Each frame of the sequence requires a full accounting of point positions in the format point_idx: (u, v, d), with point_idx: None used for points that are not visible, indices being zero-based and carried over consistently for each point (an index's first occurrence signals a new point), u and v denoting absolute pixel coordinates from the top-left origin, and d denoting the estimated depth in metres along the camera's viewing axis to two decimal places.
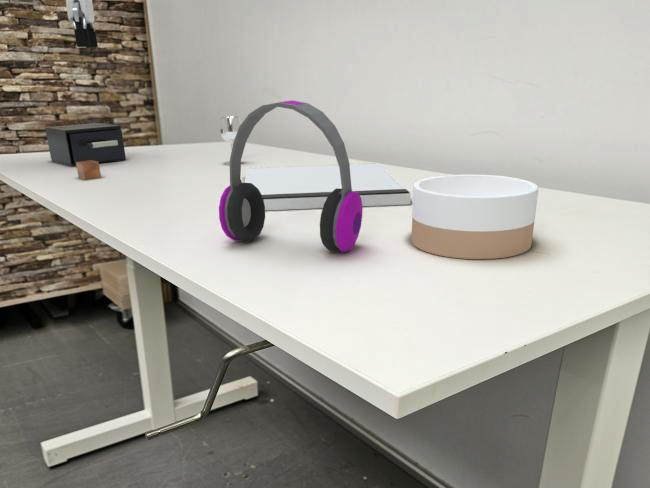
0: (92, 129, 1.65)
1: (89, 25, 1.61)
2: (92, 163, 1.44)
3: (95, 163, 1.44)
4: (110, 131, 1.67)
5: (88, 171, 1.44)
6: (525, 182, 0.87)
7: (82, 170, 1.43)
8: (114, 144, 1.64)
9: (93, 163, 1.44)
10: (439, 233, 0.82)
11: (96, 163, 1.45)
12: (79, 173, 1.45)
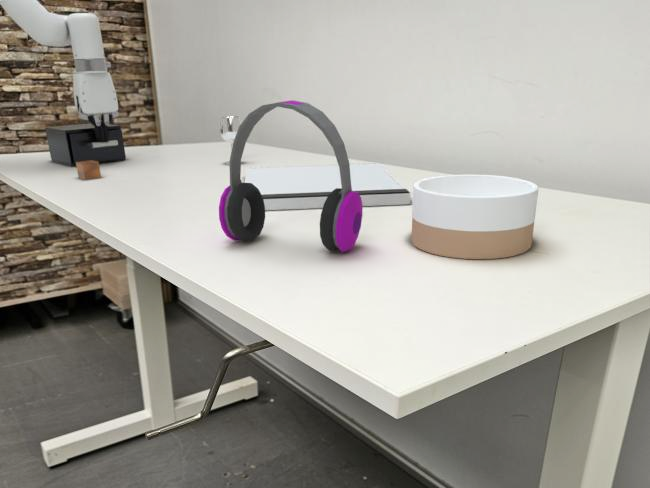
0: (92, 129, 1.65)
1: None
2: (92, 163, 1.44)
3: (95, 163, 1.44)
4: (110, 131, 1.66)
5: (88, 171, 1.44)
6: (525, 182, 0.87)
7: (82, 170, 1.43)
8: (114, 144, 1.64)
9: (93, 163, 1.44)
10: (439, 233, 0.82)
11: (96, 163, 1.45)
12: (79, 173, 1.45)
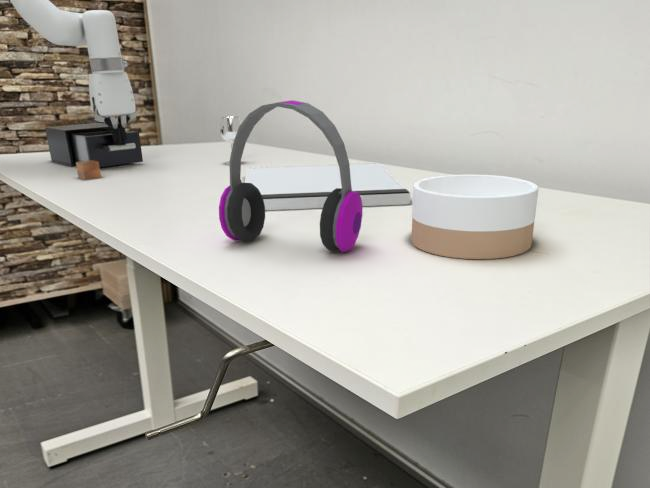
0: (92, 129, 1.65)
1: None
2: (92, 163, 1.44)
3: (95, 163, 1.44)
4: (127, 133, 1.60)
5: (88, 171, 1.44)
6: (525, 182, 0.87)
7: (82, 170, 1.43)
8: (132, 147, 1.57)
9: (93, 163, 1.44)
10: (439, 233, 0.82)
11: (96, 163, 1.45)
12: (79, 173, 1.45)
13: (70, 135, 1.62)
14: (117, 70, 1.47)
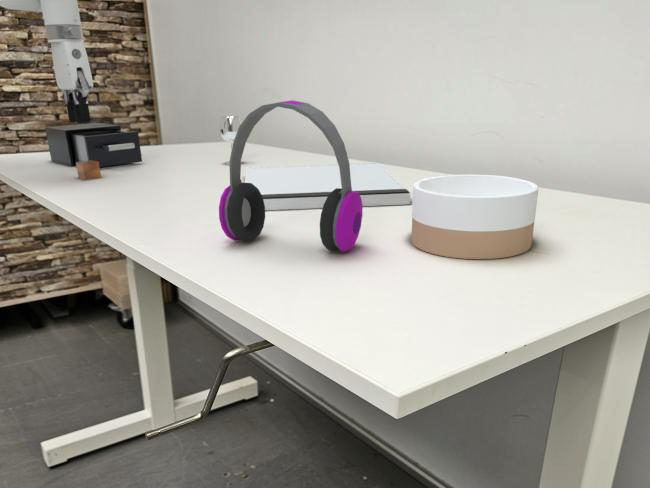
0: (92, 129, 1.65)
1: None
2: (92, 163, 1.44)
3: (95, 163, 1.44)
4: (126, 133, 1.60)
5: (88, 171, 1.44)
6: (525, 182, 0.87)
7: (82, 170, 1.43)
8: (131, 147, 1.57)
9: (93, 163, 1.44)
10: (439, 233, 0.82)
11: (96, 163, 1.45)
12: (79, 173, 1.45)
13: (69, 135, 1.62)
14: (50, 39, 1.32)
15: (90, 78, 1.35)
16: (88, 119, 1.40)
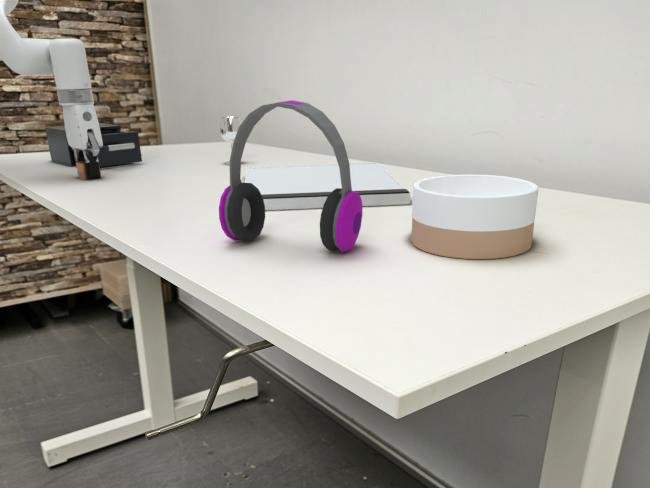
0: None
1: None
2: None
3: None
4: (126, 133, 1.60)
5: None
6: (525, 182, 0.87)
7: (82, 170, 1.43)
8: (131, 147, 1.57)
9: None
10: (439, 233, 0.82)
11: None
12: (79, 173, 1.45)
13: None
14: (62, 103, 1.37)
15: (100, 138, 1.41)
16: (98, 176, 1.45)
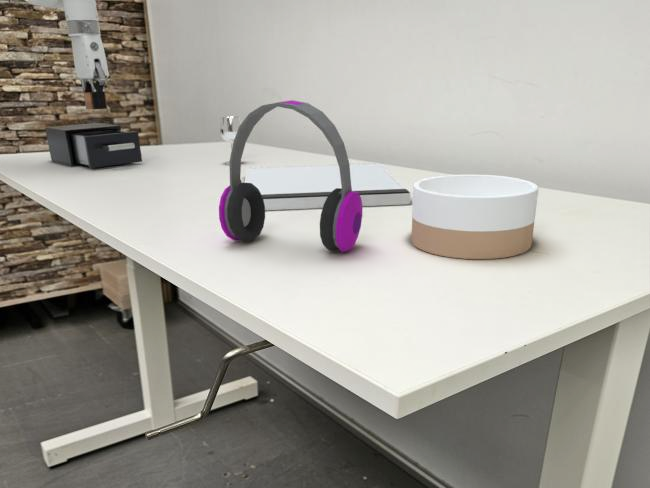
0: (92, 129, 1.65)
1: None
2: None
3: None
4: (126, 133, 1.60)
5: None
6: (525, 182, 0.87)
7: (89, 99, 1.54)
8: (131, 147, 1.57)
9: None
10: (439, 233, 0.82)
11: None
12: (86, 103, 1.55)
13: (69, 135, 1.62)
14: (71, 33, 1.47)
15: (106, 68, 1.51)
16: (104, 105, 1.55)
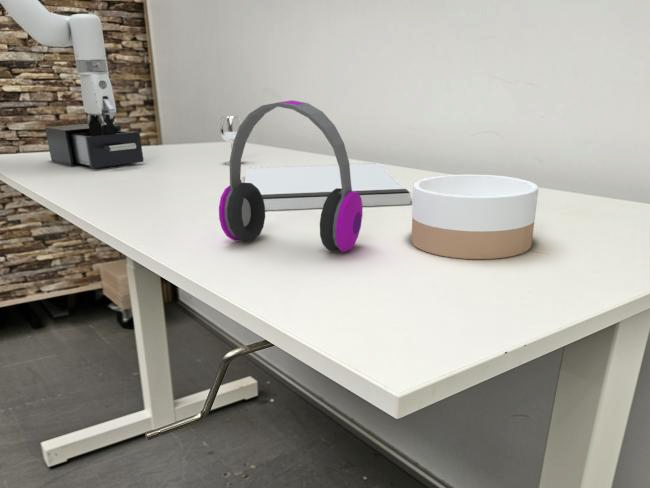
0: None
1: None
2: None
3: None
4: (128, 133, 1.59)
5: None
6: (525, 182, 0.87)
7: None
8: (132, 147, 1.57)
9: None
10: (439, 233, 0.82)
11: None
12: None
13: (70, 135, 1.61)
14: (80, 72, 1.52)
15: (114, 105, 1.56)
16: None
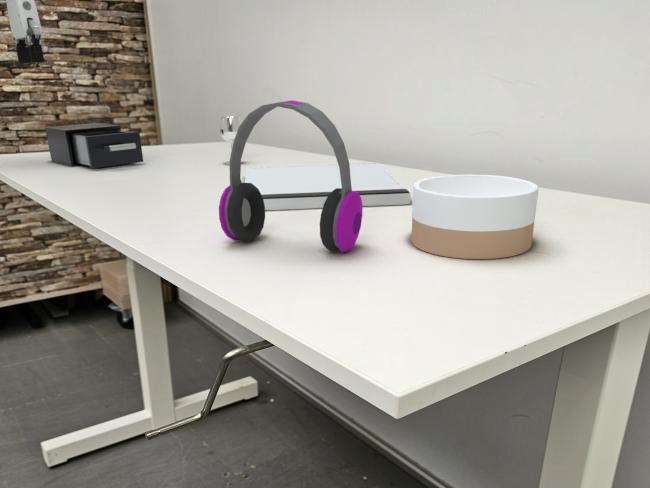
0: (92, 129, 1.65)
1: None
2: None
3: None
4: (127, 133, 1.59)
5: None
6: (525, 182, 0.87)
7: None
8: (132, 147, 1.57)
9: None
10: (439, 233, 0.82)
11: None
12: None
13: (70, 135, 1.61)
14: None
15: (39, 27, 1.57)
16: (42, 59, 1.60)
